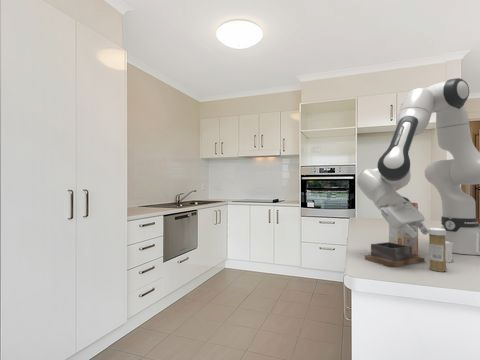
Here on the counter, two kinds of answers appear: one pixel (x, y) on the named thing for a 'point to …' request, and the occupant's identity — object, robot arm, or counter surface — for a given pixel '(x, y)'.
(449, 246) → the white cup
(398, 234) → the cracker box
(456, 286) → the counter surface
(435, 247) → the sprinkles bottle
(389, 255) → the stand
